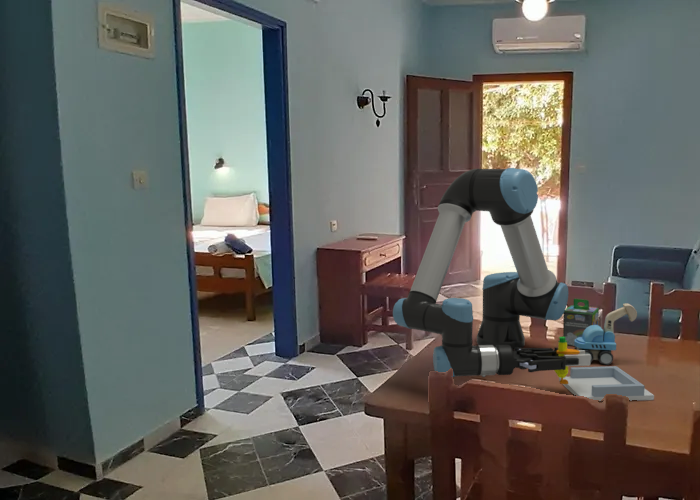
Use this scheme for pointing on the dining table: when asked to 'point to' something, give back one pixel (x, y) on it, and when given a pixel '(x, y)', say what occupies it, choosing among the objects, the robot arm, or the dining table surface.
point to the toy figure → (561, 352)
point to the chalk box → (578, 320)
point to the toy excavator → (603, 336)
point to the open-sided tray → (605, 383)
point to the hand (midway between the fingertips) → (586, 357)
